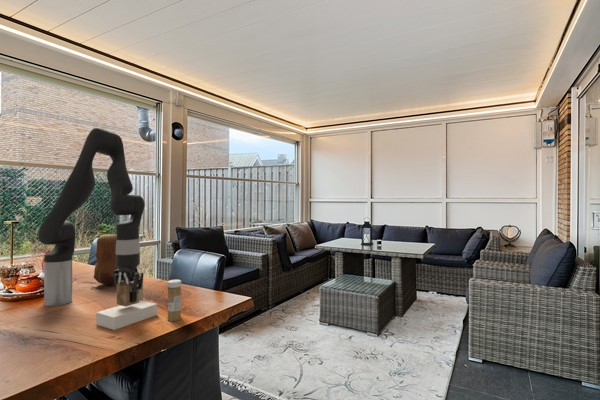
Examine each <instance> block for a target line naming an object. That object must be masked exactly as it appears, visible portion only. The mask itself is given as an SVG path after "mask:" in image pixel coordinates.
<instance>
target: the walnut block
mask: <svg viewBox="0 0 600 400" xmlns="http://www.w3.org/2000/svg"><path fill="white" fill-rule="evenodd" d="M132 282H133V281H132ZM138 285H139V284H137V286H138ZM132 288H133V284H132ZM136 303H139V290H137V301H136V302H133V303H130V290H129V285H127V283H121V284H117V287H116V305H117V306H120V305H121V306H125V307H126V306H129V305H133V304H136Z"/></svg>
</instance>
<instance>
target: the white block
mask: <svg viewBox="0 0 600 400" xmlns="http://www.w3.org/2000/svg"><path fill="white" fill-rule="evenodd" d="M156 316H158V303H154V302H151V301H145V300H143V301H142V300H139V303H136V304H133V305H129V306H126V307H125V306H121V305H117V306H113V307H110V308H107V309H104V310H103V309H102V310H100V311H96V312H95V325H97V326H99V327H102V328H106V329H110V330H113V331H115V330H119V329H121V328H124V327H127V326H130V325H133V324H135V323H139V322H141V321H144V320H147V319H149V318H152V317H156Z"/></svg>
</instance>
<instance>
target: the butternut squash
mask: <svg viewBox="0 0 600 400" xmlns="http://www.w3.org/2000/svg"><path fill="white" fill-rule="evenodd" d="M116 240H117V239H116V234H114V233H113V234H111V233H109V234H108V233H107V234H103V235H100V236H99V237H98V238H97V240H96V252H95V258H96V264H95V267H94V271H93V272H94V273H93V278H94V280H95V281H96V282H97V283H99V284H100V285H107V284H108V286H115V285H114V284H115V283H114V276H113V271H114V270H118V269H119V267H116ZM117 281H118V280H117Z"/></svg>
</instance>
